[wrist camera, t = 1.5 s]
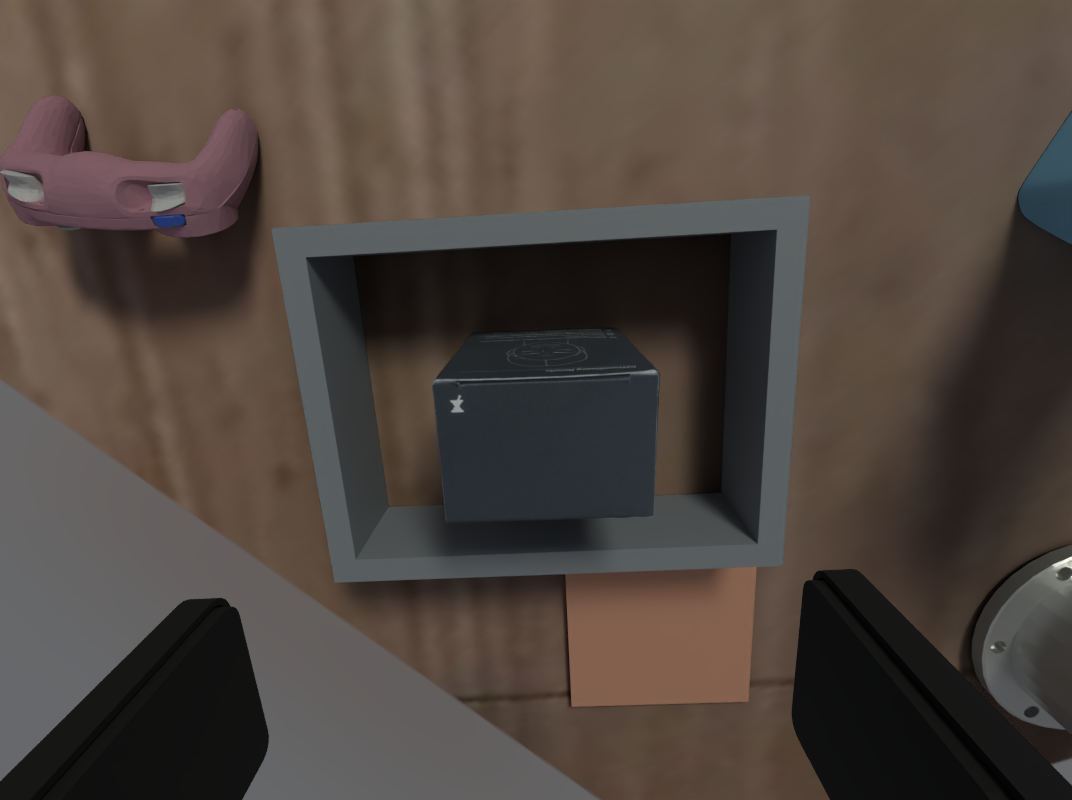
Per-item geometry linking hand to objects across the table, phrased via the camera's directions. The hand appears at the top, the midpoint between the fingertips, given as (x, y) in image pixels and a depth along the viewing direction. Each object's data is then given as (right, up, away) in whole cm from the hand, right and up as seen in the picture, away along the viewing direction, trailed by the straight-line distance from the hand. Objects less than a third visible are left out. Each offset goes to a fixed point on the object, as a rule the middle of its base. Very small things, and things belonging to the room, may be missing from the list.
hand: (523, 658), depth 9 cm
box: (+1, +5, +20) cm, 21 cm away
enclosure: (+1, +5, +20) cm, 21 cm away
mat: (+8, -9, +24) cm, 27 cm away
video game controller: (-18, +15, +18) cm, 29 cm away
